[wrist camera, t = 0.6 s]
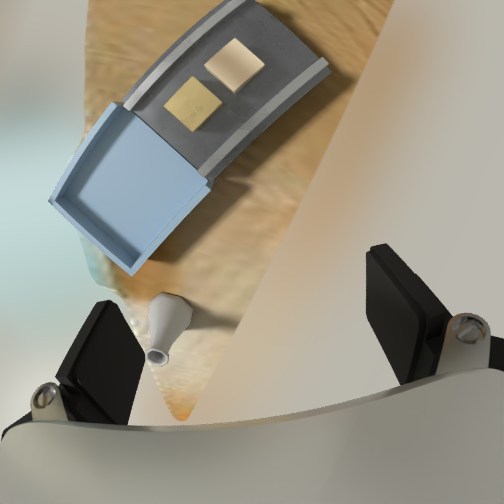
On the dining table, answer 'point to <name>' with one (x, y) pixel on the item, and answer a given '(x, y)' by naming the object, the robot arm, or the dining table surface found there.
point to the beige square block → (234, 65)
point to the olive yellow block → (193, 104)
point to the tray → (127, 188)
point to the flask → (166, 325)
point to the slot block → (235, 105)
